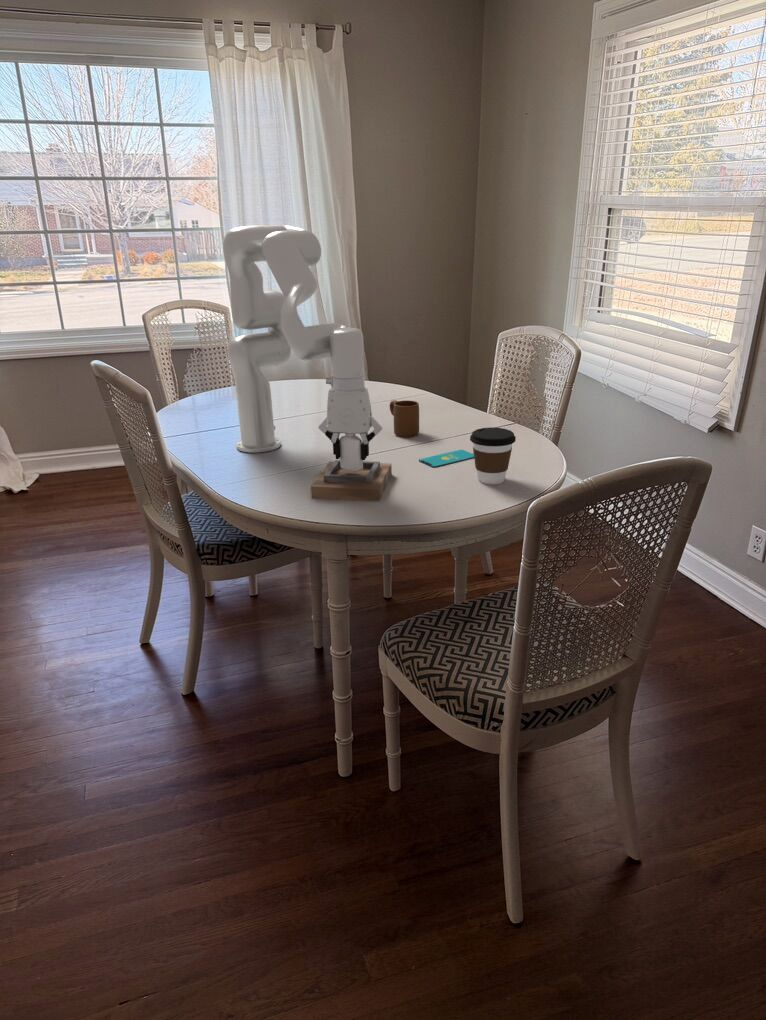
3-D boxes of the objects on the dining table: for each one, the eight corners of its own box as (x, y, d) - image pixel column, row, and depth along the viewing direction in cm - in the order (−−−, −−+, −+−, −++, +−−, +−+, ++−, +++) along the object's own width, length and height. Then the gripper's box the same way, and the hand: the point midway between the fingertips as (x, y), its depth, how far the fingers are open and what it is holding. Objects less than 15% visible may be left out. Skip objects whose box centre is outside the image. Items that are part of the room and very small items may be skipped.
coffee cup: (459, 480, 174) (460, 433, 169) (487, 469, 181) (488, 424, 176) (495, 491, 166) (497, 442, 162) (522, 479, 173) (525, 432, 169)
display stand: (330, 472, 182) (329, 455, 180) (391, 474, 179) (391, 457, 177) (311, 498, 165) (310, 480, 164) (378, 501, 162) (378, 483, 161)
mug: (380, 430, 216) (380, 400, 212) (401, 425, 219) (400, 396, 216) (403, 439, 206) (403, 408, 203) (424, 434, 210) (424, 403, 206)
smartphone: (478, 455, 190) (433, 466, 182) (478, 458, 190) (433, 469, 183) (461, 449, 196) (417, 459, 188) (461, 451, 196) (417, 462, 189)
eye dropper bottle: (355, 464, 174) (353, 416, 169) (364, 470, 169) (363, 422, 164) (338, 467, 172) (336, 419, 167) (348, 474, 167) (346, 425, 163)
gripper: (307, 386, 160) (312, 461, 167) (382, 388, 157) (383, 464, 165) (316, 379, 167) (320, 451, 174) (388, 380, 164) (389, 454, 171)
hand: (351, 457), depth 169 cm, fingers closed on eye dropper bottle, 5 cm apart
